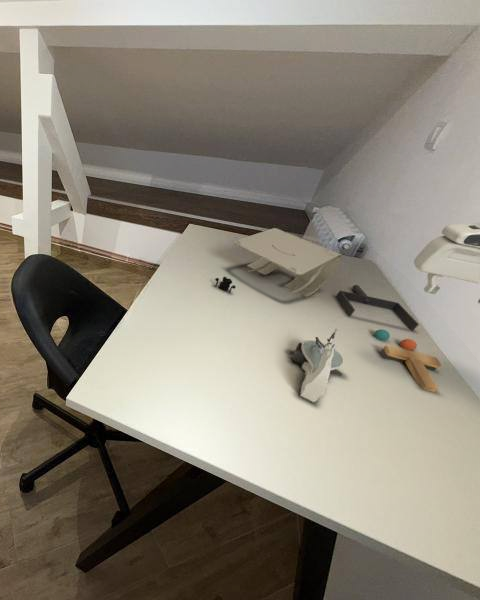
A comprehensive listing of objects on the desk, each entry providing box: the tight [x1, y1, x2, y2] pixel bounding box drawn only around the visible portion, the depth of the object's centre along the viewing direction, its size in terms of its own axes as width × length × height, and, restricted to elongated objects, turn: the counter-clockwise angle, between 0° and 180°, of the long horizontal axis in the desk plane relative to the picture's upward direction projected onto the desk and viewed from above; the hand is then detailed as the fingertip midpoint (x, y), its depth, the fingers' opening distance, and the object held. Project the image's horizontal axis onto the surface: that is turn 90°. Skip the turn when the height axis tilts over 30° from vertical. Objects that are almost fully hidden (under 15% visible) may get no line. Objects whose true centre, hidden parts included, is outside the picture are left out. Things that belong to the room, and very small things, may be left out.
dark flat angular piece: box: [335, 284, 420, 332], centre depth 104 cm, size 22×17×3 cm
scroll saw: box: [289, 328, 344, 405], centre depth 71 cm, size 20×11×12 cm
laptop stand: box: [233, 227, 343, 298], centre depth 109 cm, size 26×24×16 cm
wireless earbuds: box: [214, 276, 237, 294], centre depth 104 cm, size 7×2×5 cm, turn 43°
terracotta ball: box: [399, 338, 418, 351], centre depth 86 cm, size 3×3×3 cm
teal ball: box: [373, 329, 391, 342], centre depth 88 cm, size 3×3×3 cm
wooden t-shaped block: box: [378, 344, 443, 393], centre depth 77 cm, size 11×12×3 cm
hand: (455, 298), depth 68 cm, fingers open, 8 cm apart
